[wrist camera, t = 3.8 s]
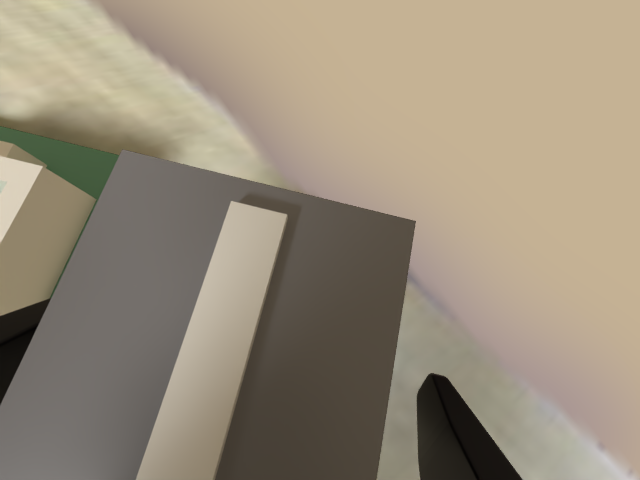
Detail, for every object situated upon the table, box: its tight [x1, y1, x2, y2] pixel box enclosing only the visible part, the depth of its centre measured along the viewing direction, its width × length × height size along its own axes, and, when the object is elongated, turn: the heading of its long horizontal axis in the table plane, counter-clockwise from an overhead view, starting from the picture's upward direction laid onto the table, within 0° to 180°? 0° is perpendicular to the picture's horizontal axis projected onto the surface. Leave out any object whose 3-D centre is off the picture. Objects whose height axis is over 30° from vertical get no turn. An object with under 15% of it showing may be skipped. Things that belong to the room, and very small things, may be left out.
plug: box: [0, 149, 416, 480], centre depth 10 cm, size 4×4×13 cm
